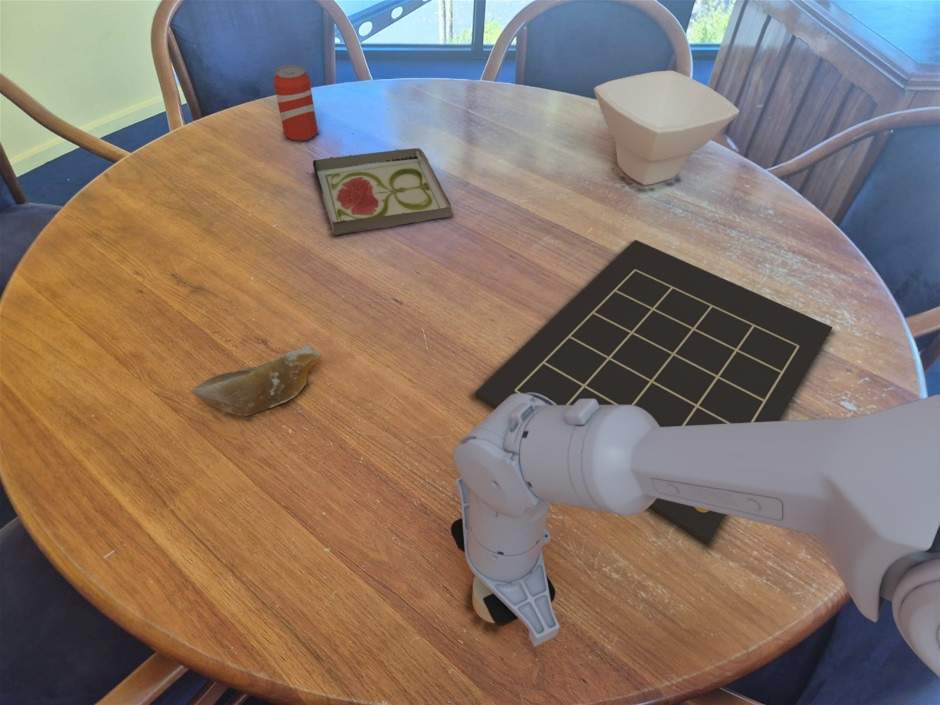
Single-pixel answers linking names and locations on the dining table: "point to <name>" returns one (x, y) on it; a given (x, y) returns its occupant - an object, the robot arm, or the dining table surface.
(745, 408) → the board
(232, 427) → the dining table surface
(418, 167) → the decorative tile
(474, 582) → the cylinder
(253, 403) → the stone
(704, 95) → the bowl
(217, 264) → the dining table surface
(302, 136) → the beverage can
